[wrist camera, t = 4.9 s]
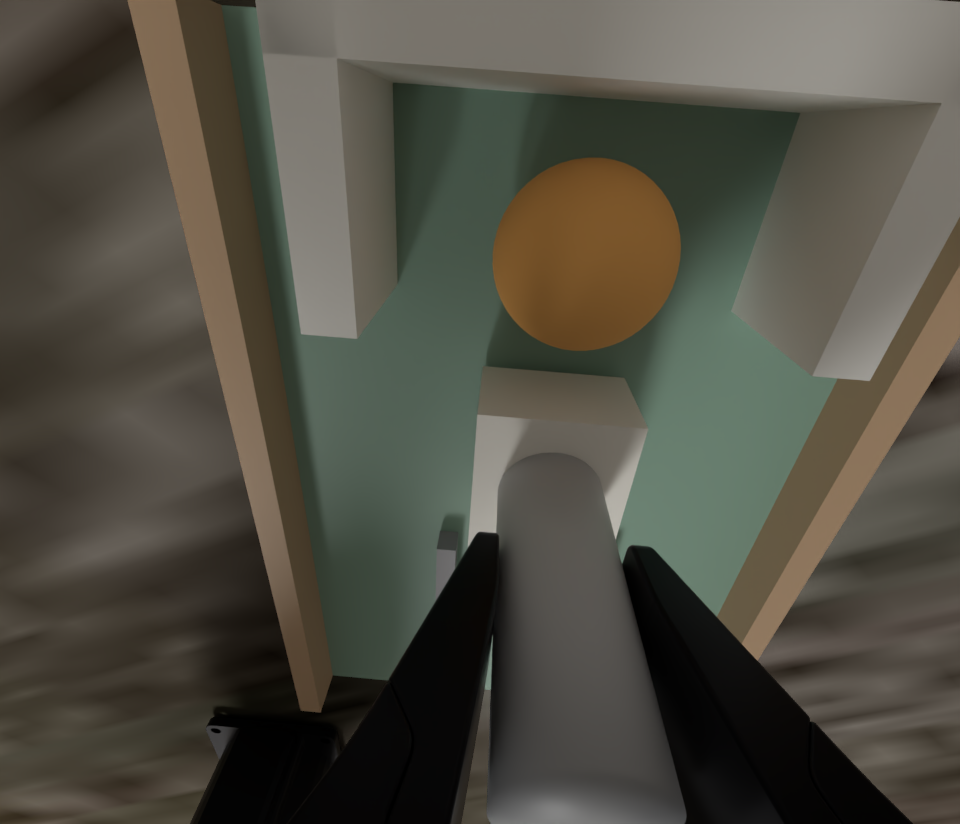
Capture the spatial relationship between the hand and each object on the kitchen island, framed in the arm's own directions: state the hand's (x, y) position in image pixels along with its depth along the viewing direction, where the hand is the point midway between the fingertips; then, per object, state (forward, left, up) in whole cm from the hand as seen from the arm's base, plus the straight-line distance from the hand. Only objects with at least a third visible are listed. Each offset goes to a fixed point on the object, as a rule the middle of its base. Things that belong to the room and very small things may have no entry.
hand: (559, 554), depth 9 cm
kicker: (0, 0, -5) cm, 5 cm away
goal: (+6, 0, -5) cm, 8 cm away
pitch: (-3, 0, -6) cm, 6 cm away
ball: (+5, 0, -3) cm, 6 cm away
